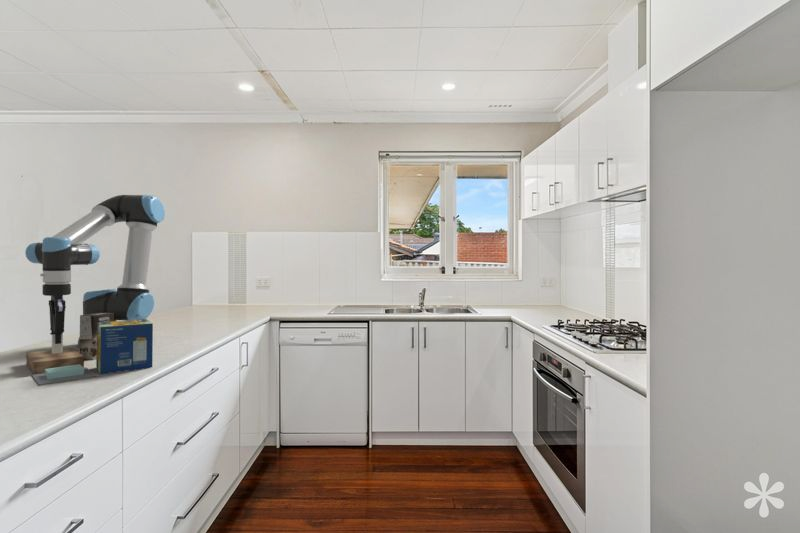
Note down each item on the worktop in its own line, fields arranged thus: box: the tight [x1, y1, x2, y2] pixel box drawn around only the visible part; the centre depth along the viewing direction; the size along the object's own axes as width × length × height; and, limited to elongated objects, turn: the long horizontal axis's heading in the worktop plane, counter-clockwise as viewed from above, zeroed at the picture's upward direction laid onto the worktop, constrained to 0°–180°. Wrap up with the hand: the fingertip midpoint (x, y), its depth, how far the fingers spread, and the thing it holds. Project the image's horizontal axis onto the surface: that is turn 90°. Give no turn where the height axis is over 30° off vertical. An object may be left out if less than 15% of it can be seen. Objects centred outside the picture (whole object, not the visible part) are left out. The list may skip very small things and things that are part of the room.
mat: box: [31, 366, 97, 386], centre depth 138 cm, size 14×14×1 cm
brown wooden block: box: [25, 347, 85, 375], centre depth 149 cm, size 13×18×4 cm
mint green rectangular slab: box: [45, 364, 85, 379], centre depth 138 cm, size 9×6×2 cm, turn 136°
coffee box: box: [78, 313, 114, 361], centre depth 163 cm, size 9×6×16 cm
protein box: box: [95, 318, 154, 375], centre depth 149 cm, size 10×15×16 cm
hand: (57, 352), depth 148 cm, fingers closed
